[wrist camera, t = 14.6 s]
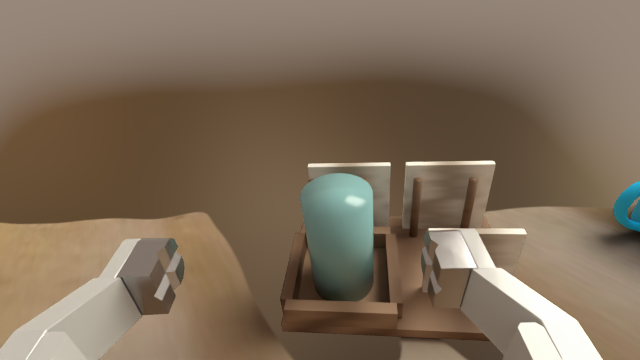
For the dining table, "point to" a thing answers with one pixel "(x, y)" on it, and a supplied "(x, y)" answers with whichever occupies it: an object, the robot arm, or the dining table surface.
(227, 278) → the dining table surface
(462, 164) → the rack
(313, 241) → the teal glossy cylinder
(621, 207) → the mug
